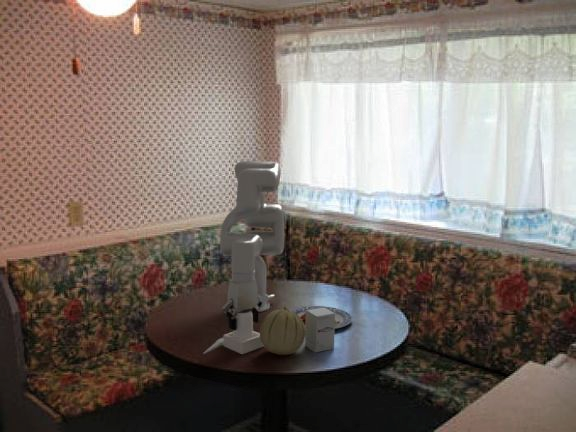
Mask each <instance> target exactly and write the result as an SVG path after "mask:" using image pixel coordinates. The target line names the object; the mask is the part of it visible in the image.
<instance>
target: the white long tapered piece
mask: <svg viewBox="0 0 576 432" xmlns="http://www.w3.org/2000/svg"><path fill="white" fill-rule="evenodd" d="M221 346H224V338H223V337H220V338H218V339H217V340H216V341H215V342H214V343H213V344H211V346H210V347H208V348H207V349H206V350H205V351H204V352H203V355H206V354H207V353H209V352H211V351H214V350H215V349H217V348H219V347H221Z"/></svg>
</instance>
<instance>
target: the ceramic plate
mask: <svg viewBox="0 0 576 432" xmlns="http://www.w3.org/2000/svg"><path fill="white" fill-rule="evenodd" d="M318 308H326V309H328V310H330V311H332V312H333V313H335V327H334V330H335V329H340V328H343V327H344V328H345V327H346V326H347V325H349V324H351V323H352V321H353V317H352V315H351V314H350V313H349V312H348V311H346V310H343V309H340V308H336V307H331V306H324V305H307V306H301V307H300V306H299V307H296V308H292V309H290V310H289V311H291V312H294V313H296V314H297V315H298V316H299V317H300V318H301V319H302V321H303V323H304V326H305V323H306V310H311V309H318Z"/></svg>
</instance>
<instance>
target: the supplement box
mask: <svg viewBox="0 0 576 432" xmlns="http://www.w3.org/2000/svg"><path fill="white" fill-rule="evenodd" d="M334 327H335V313H333V312H332V311H330V310H328V309H326V308H318V309H311V310H306V323H305V338H304V345H305V346H306V348H308V349H309V350H311V351H312V352H314V353H315V354H316V353H320V352H324V351H329V350H334V349H335V329H334Z"/></svg>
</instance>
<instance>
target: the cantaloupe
mask: <svg viewBox="0 0 576 432" xmlns="http://www.w3.org/2000/svg"><path fill="white" fill-rule="evenodd" d="M259 333H260V339H261V341H262V343H263V345H264V346H263V347H264V348H265V350H267V351H268V352H270V353H271V354H275V355H278V356H287V355H288V356H289V355H292V354H293V353H295V352H296V351H298V350H299V349H300V348H301V346H302V345H303V343H304V342H305V326H304V323H303V321H302V319H301V318H300V317H299V316H298V315H297V314H296V313H294V312H291V311H290V310H289V309H288V308H287V306H283V309H275V310H273V311H271V312H269V313H268V314H267V315H266V316H265V317H264V318H263V319H262V321H261V323H260V327H259Z"/></svg>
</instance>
